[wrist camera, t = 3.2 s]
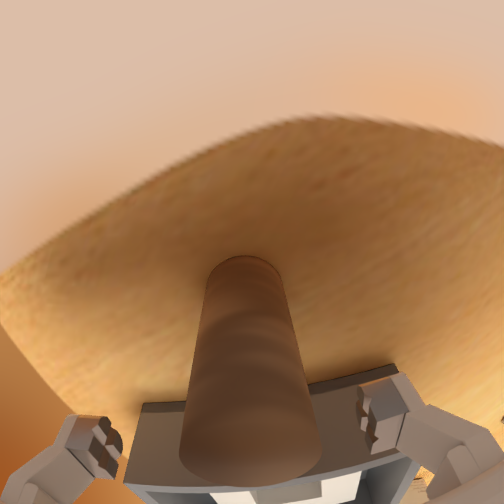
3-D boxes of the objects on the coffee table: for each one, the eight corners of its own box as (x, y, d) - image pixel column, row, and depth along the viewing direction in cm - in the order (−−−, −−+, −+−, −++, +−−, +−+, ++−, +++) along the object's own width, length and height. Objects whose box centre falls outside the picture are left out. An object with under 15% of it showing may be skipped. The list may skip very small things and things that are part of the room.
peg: (276, 249, 16) (320, 409, 6) (286, 315, 17) (322, 477, 8) (198, 263, 16) (156, 427, 7) (216, 326, 17) (202, 489, 8)
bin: (394, 363, 19) (434, 438, 13) (371, 472, 26) (386, 522, 20) (143, 403, 20) (122, 482, 13) (210, 497, 27) (208, 548, 20)
